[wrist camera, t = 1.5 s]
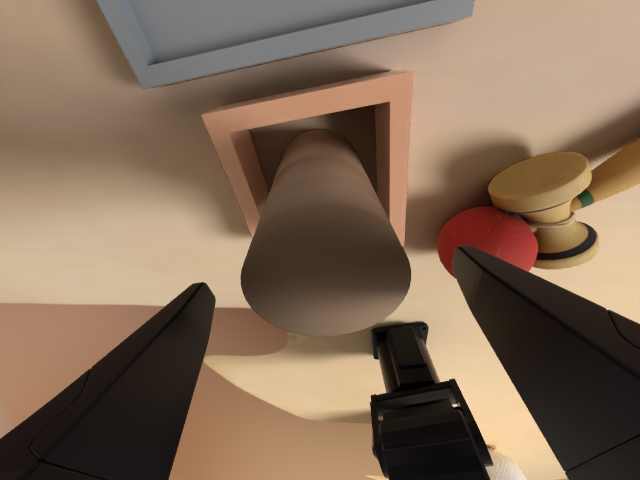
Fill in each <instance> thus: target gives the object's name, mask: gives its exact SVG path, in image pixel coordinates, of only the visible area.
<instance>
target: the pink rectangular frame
mask: <svg viewBox="0 0 640 480" xmlns="http://www.w3.org/2000/svg"><path fill="white" fill-rule="evenodd" d="M412 81H413V71H387V72H383V73H378V74H373V75H368V76H363V77H359V78H354V79H349V80H344V81H339V82H334V83H330V84H325V85H320V86H315V87H310V88H306V89H301V90H296V91H291V92H286V93H281V94H277V95H272V96H267V97H262V98H257V99H253V100H248V101H243V102H238V103H233V104H229V105H224V106H221V107H219V108H216V109H214V110H211V111H209V112H206V113H204V114H202V115H201V117H202V119H203V122H204V124H205V126H206V129H207V131H208V133H209V136H210V138H211V140H212V143H213V145H214V148H215V150H216V152H217V155H218V157H219V159H220V162H221V164H222V166H223V169H224V171H225V174H226V176H227V178H228V181H229V183H230V185H231V188H232V190H233V193H234V195H235V197H236V200H237V202H238V204H239V207H240V209H241V211H242V214H243V216H244V219H245V221H246V223H247V226H248V228H249V230H250V233H251V235H252V237H253V236H254V234H255V231H256V228H257V225H258V222H259V220H260V217H261V214H262V211H263V209H264V206H265V203H266V200H267V198H268V195H269V192H268V188H267V185H266V182H265V179H264V176H263V173H262V170H261V167H260V164H259V161H258V158H257V155H256V152H255V149H254V146H253V142H252V139H251V136H250V133H249V130H248V129H252V128H257V127H262V126H267V125H272V124H277V123H282V122H288V121H293V120H298V119H303V118H308V117H313V116H318V115H323V114H328V113H333V112H338V111H343V110H348V109H354V108H359V107H364V106H369V105H374V104H375V122H376V156H377V190H378V199H379V201H380V203H381V205H382V207H383V209H384V211H385V213H386V215H387V217H388V219H389V221H390V223H391V225H392V227H393V229H394V231H395V233H396V235H397V237H398V239H399V241H400V243H401V245H402V247H403V246H404V239H405V219H406V200H407V180H408V160H409V140H410V120H411V101H412Z"/></svg>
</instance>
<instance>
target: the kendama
mask: <svg viewBox="0 0 640 480" xmlns="http://www.w3.org/2000/svg"><path fill="white" fill-rule="evenodd" d="M637 184H640V138H639V139H638V140H636V141H635V142H633V143H632V144H630V145H629V146H627V147H625V148H624V149H622V150H621V151H619V152H618V153H616V154H615V155H613V156H612V157H610V158H609V159H607V160H606V161H605V162H603V163H602V164H600V165H599V166H598V167H596V168H595V169H594V170H592V171H591V170H590V166H589V162H588V160H587V158H586V157H585V156H583V155H581V154H579V153H575V152H555V153H547V154H543V155H538V156H535V157H531V158H529V159H526V160H523V161H520V162H518V163H516V164H514V165H512V166H511V167H508V168H506V169H505V170H503V171H501V172H500V173H499V174H497V175H496V176H495V177H494V178H493V179H492V180H491V182H490V183H489V186H488V191H489V194H490V197H491V200H492V203H493V204H494V207H489V206H484V207H475V208H471V209H467V210H465V211H463V212H460V213H459V214H457V215H455V216H454V217H452V218H451V219H450V220H449V221H448V222H447V223H446V224H445V225H444V227H443V228H442V230H441V232H440V234H439V237H438V242H437V249H438V255H439V258H440V261H441V262H442V264H443V266H444V267H445V269H446V270H447V271H448V272H449V273H450V274H451V275H452V276H453V277H454V278H456V277H455V274H454V272H453V269H452V261H453V256H454V251H455V248H456V247H457V246H461V245H472V246H474V247H476V248H479V249H481V250H483V251H485V252H487V253H489V254H491V255H493V256H496V257H498V258H500V259H502V260H504V261H506V262H508V263H510V264H513V265H515V266H517V267H519V268H521V269H523V270H525V271H529V270H530V269H531V267H536V268H540V269H564V268H570V267H574V266H578V265H581V264H583V263H585V262H588V261H589V260H591V259H592V258H593V257H594V256H595V255H596V253H597V252H598V248H599V237H598V234H597V232H596V231H595V230H594V229H593V228H592V227H591V226H589V225H587V224H585V223H582V222H578V221H576V220H575V213H574V212H573V211H576V210H578V209H580V208H583V207H586V206H588V205H591V204H593V203H595V202H598V201H600V200H603V199H605V198H607V197H610V196H612V195H615V194H617V193H619V192H622V191H624V190H626V189H629V188H631V187H633V186H635V185H637Z"/></svg>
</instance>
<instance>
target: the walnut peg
mask: <svg viewBox="0 0 640 480" xmlns="http://www.w3.org/2000/svg"><path fill="white" fill-rule="evenodd" d="M410 282H411V268H410V263H409V260H408V258H407V255H406V253H405V251H404V249H403V247H402V245H401V243H400V241H399V239H398V237H397V235H396V233H395V231H394V229H393V227H392V225H391V223H390V221H389V219H388V217H387V215H386V213H385V211H384V209H383V207H382V205H381V203H380V201H379V199H378V197H377V195H376V193H375V191H374V188H373V186H372V184H371V182H370V180H369V178H368V176H367V174H366V172H365V170H364V168H363V166H362V164H361V162H360V160H359V158H358V156H357V154H356V152H355V150H354V148H353V147H352V145H351V144H350V143H349V142H348V140H346V139H345V138H344V137H343V136H341V135H340V134H338V133H336V132H333V131H330V130H325V129H315V130H310V131H306V132H304V133H302V134H300V135H298V136H297V137H296V138H294V139H293V140H292V141H291V142H290V143H289V145H288V146H287V147H286V149H285V151H284V153H283V156H282V159H281V161H280V164H279V167H278V170H277V173H276V175H275V178H274V181H273V184H272V186H271V189H270V192H269V195H268V198H267V200H266V203H265V206H264V209H263V211H262V214H261V217H260V220H259V222H258V225H257V228H256V231H255V234H254V236H253V239H252V242H251V245H250V247H249V250H248V253H247V256H246V258H245V261H244V264H243V267H242V271H241V287H242V291H243V294H244V296H245V299H246V301H247V302H248V304H249V305H250V307H251V308H252V309H253V310H254V311H255V312H256V313H257V314H258V315H259V316H260V317H262V318H263V319H264V320H266V321H267V322H269V323H270V324H272V325H274V326H276V327H278V328H281V329H283V330H286V331H289V332H292V333H296V334H301V335H307V336H319V337H323V336H339V335H345V334H350V333H354V332H357V331H360V330H363V329H366V328H368V327H371V326H373V325H375V324H377V323H379V322H380V321H382V320H383V319H385V318H386V317H388V316H389V315H390V314H391V313H393V312H394V311H395V310H396V309H397V307H398V306H399V305H400V304H401V303H402V301H403V300H404V298H405V296H406V294H407V292H408V289H409V287H410Z"/></svg>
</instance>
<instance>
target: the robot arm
mask: <svg viewBox="0 0 640 480" xmlns="http://www.w3.org/2000/svg"><path fill="white" fill-rule="evenodd" d="M452 269H453V272H454V274H455V277H456V279H457V281H458V284H459V286H460V288H461V290H462V293H463V295H464V297H465V299H466V302H467V304H468V306H469V308H470V310H471V312H472V314H473V316H474V317H475V319H476V321H477V323H478V324H479V326H480V328H481V329H482V331H483V333H484V335H485V336H486V338H487V340H488V341H489V343H490V345H491V347H492V348H493V350H494V352H495V353H496V355H497V357H498V359H499V360H500V362H501V364H502V365H503V367H504V369H505V371H506V372H507V374H508V376H509V377H510V379H511V381H512V383H513V384H514V386H515V388H516V389H517V391H518V393H519V395H520V396H521V398H522V400H523V401H524V403H525V405H526V407H527V408H528V410H529V412H530V413H531V415H532V417H533V418H534V420H535V422H536V424H537V425H538V427H539V429H540V430H541V432H542V434H543V436H544V437H545V439H546V441H547V442H548V444H549V446H550V448H551V449H552V451H553V453H554V454H555V456H556V458H557V460H558V461H559V463H560V465H561V466H562V468H563V470H564V471H565V474H566V475H567V477H568V479H569V480H640V324H639V323H636V322H634V321H632V320H630V319H628V318H626V317H624V316H621V315H619V314H617V313H615V312H613V311H611V310H606V308H604V307H602V306H600V305H598V304H596V303H594V302H591V301H589V300H587V299H585V298H583V297H581V296H579V295H576V294H574V293H572V292H570V291H568V290H566V289H564V288H562V287H559V286H557V285H555V284H553V283H551V282H549V281H547V280H545V279H542V278H540V277H538V276H536V275H534V274H532V273H530V272H528V271H525V270H523V269H521V268H519V267H517V266H515V265H513V264H510V263H508V262H506V261H504V260H502V259H500V258H498V257H496V256H493V255H491V254H489V253H487V252H485V251H483V250H481V249H479V248H476V247H474V246H472V245H461V246H457V247H456V248H455V251H454V256H453V261H452ZM215 302H216V300H215V296H214V294H213V293H212V291H211V290H210V288H209V287H208V285H207V284H206V283H204V282H200V283H194V284H192V285H191V286H189V287H188V288H187V289H186V290H185V291H183V292H182V293H181V294H180V295H179V296H177V297H176V298H175V299H174V300H172V301H171V302H170V303H169V304H168V305H166V306H165V307H164V308H163V309H162V310H160V311H159V312H158V313H157V314H156V315H154V316H153V317H152V318H151V319H150V320H148V321H147V322H146V323H145V324H143V325H142V326H141V327H140V328H138V329H137V330H136V331H135V332H134V333H132V334H131V335H130V336H129V337H128V338H126V339H125V340H124V341H123V342H121V343H120V344H119V345H118V346H117V347H115V348H114V349H113V350H112V351H111V352H109V353H108V354H107V355H106V356H105V357H103V358H102V359H101V360H100V361H98V362H97V363H96V364H95V365H94V366H93V367H92V368H91V369H89V370H87V372H85V373H84V374H83V375H81V376H80V377H79V378H78V379H77V380H75V381H74V382H73V383H72V384H70V385H69V386H68V387H67V388H66V389H64V390H63V391H62V392H61V393H59V394H58V395H57V396H56V397H54V398H53V399H52V400H50V401H49V402H48V403H46V404H45V405H44V406H43V407H41V408H40V409H39V410H37V411H36V412H35V413H34V414H32V415H31V416H30V417H28V418H27V419H26V420H24V421H23V422H22V423H20V424H19V425H18V426H16V427H15V428H14V429H13V430H11V431H10V432H9V433H7V434H6V435H5V436H3V437H2V438H1V439H0V480H168V479H169V476H170V472H171V469H172V465H173V462H174V458H175V455H176V452H177V448H178V445H179V441H180V438H181V434H182V431H183V427H184V424H185V421H186V417H187V414H188V410H189V407H190V403H191V400H192V396H193V393H194V389H195V386H196V382H197V379H198V376H199V372H200V369H201V365H202V362H203V358H204V354H205V352H206V348H207V344H208V340H209V336H210V330H211V325H212V319H213V314H214V308H215ZM371 333H372V346H373V357H374V359H379V361H380V366H381V370H382V375H383V379H384V384H385V388H386V393H385V394H380V395H376V394H375V395H371V402H370V406H371V417H372V429H373V438H372V442H373V443H372V450H373V455H374V456H375V457H376V458H377V459H378V461H379V464H380V467H381V470H382V472H383V474H384V476H385V478H389V480H491V479H490V477H489V475H488V472H487V470H486V467H488V466H494V465H493V462H492V459H491V456H490V454H489V451H488V449H487V446H486V444H485V441H484V439H483V437H482V435H481V432H480V430H479V428H478V426H477V424H476V422H475V420H474V418H473V415H472V413H471V411H470V409H469V407H468V405H467V403H466V401H465V399H464V397H463V395H462V393H461V391H460V389H459V387H458V385H457V383H456V381H455V379H449V381H445V382H440V380H439V378H438V375H437V373H436V370H435V368H434V365H433V363H432V360H431V358H430V355H429V353H428V350H427V348H426V346H425V345H426V340H427V334H428V325H427V324H426V323H420V324H411V325H403V326H394V327H385V328H377V329H373V330H372V331H371ZM452 404H457V406H458V407H453V406H452Z"/></svg>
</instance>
